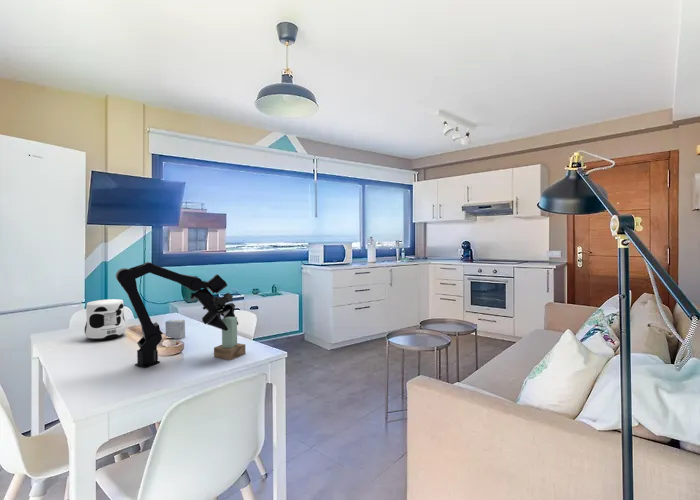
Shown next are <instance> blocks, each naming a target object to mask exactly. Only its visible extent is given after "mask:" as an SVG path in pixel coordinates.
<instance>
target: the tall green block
mask: <svg viewBox="0 0 700 500" xmlns="http://www.w3.org/2000/svg"><path fill="white" fill-rule="evenodd" d="M221 319H222V321H223V322H224V323H225V325H226V326H227V328H228V330H227V331H225V330H223V329H221V345H222V347H226V348H233V347H234V346H236V345H237V343H238V325H237V321H238V317H237V316H235V317H225V318H221Z"/></svg>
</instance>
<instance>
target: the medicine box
mask: <svg viewBox="0 0 700 500" xmlns="http://www.w3.org/2000/svg"><path fill="white" fill-rule="evenodd" d="M164 324H165V337H166V336H168V337H171V338H174V339H175V340H176V339H177V340H178V339H179V340H181V339H183V338H185V337H186V321H185V319H168V320H166V321H165V323H164Z"/></svg>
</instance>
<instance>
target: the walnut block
mask: <svg viewBox="0 0 700 500" xmlns="http://www.w3.org/2000/svg"><path fill="white" fill-rule="evenodd" d="M245 354H246V344H244V343H238V342H237V345H236V346H234V347H233V348H226V347H222V344H219V345H217V346H214V348H213V358H218V359H224V360H229V361H231V360H234V359H236V358H239V357H241V356H243V355H245ZM238 356H239V357H238Z"/></svg>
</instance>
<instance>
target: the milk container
mask: <svg viewBox="0 0 700 500" xmlns="http://www.w3.org/2000/svg"><path fill="white" fill-rule="evenodd" d="M124 305H125V304H124V300H123V299H119V298H118V299H117V298H114V299H113V298H111V299H98V300H93V301H88V302H86V306H85V309H86V311H85V314H86V315H85V316H86V321H85V325H84V335H85V338H86V339H87V340H93V341H105V340H111V339H115V338H118V337H120V336H123V335H124V334H125V333H126V330H127V323H126V320H125V316H124V314H125V312H124V310H125V308H124Z"/></svg>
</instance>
